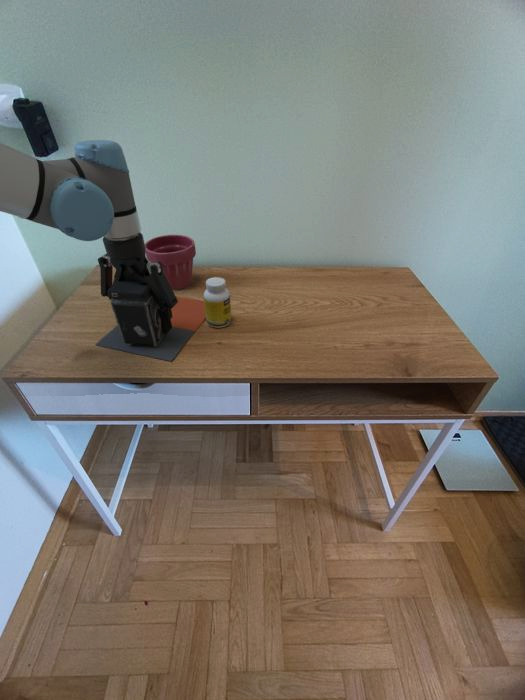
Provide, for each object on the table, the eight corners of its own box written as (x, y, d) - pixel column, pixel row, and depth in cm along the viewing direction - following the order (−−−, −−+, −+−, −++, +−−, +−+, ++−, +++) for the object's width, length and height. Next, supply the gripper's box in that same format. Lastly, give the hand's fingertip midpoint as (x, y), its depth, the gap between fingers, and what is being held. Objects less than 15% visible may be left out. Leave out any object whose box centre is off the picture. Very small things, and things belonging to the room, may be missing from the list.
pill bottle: (222, 331, 80) (219, 290, 73) (201, 324, 83) (196, 284, 75) (236, 318, 85) (234, 279, 78) (215, 312, 87) (211, 273, 80)
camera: (176, 324, 82) (165, 270, 73) (162, 350, 74) (148, 292, 64) (137, 321, 83) (121, 267, 73) (119, 346, 75) (99, 289, 65)
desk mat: (95, 345, 75) (95, 344, 75) (154, 293, 95) (154, 292, 95) (171, 362, 71) (171, 361, 71) (216, 304, 91) (216, 303, 90)
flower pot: (177, 298, 93) (169, 256, 84) (143, 286, 98) (133, 245, 90) (208, 279, 102) (204, 240, 94) (175, 269, 108) (169, 231, 100)
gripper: (184, 234, 63) (197, 325, 77) (85, 222, 68) (114, 310, 82) (165, 248, 57) (183, 344, 71) (58, 234, 62) (94, 326, 76)
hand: (146, 326), depth 77 cm, fingers closed on camera, 11 cm apart
